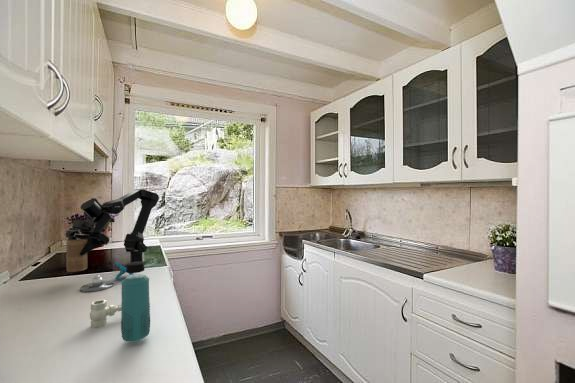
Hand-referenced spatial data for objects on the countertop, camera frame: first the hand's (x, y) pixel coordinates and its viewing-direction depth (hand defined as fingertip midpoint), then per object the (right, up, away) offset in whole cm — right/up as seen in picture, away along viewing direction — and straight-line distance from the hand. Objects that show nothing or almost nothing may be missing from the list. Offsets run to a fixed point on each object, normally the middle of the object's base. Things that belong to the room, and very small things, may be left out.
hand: (73, 254), depth 114 cm
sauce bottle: (-19, -12, +26) cm, 34 cm away
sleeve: (0, -7, +1) cm, 7 cm away
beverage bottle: (+49, -12, -43) cm, 67 cm away
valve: (+36, -13, -32) cm, 50 cm away
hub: (+12, -12, -4) cm, 18 cm away
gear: (+16, -12, +8) cm, 22 cm away
